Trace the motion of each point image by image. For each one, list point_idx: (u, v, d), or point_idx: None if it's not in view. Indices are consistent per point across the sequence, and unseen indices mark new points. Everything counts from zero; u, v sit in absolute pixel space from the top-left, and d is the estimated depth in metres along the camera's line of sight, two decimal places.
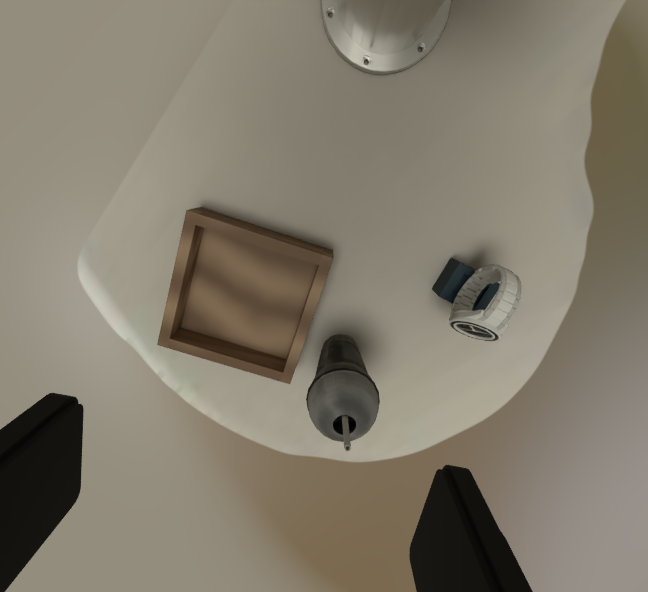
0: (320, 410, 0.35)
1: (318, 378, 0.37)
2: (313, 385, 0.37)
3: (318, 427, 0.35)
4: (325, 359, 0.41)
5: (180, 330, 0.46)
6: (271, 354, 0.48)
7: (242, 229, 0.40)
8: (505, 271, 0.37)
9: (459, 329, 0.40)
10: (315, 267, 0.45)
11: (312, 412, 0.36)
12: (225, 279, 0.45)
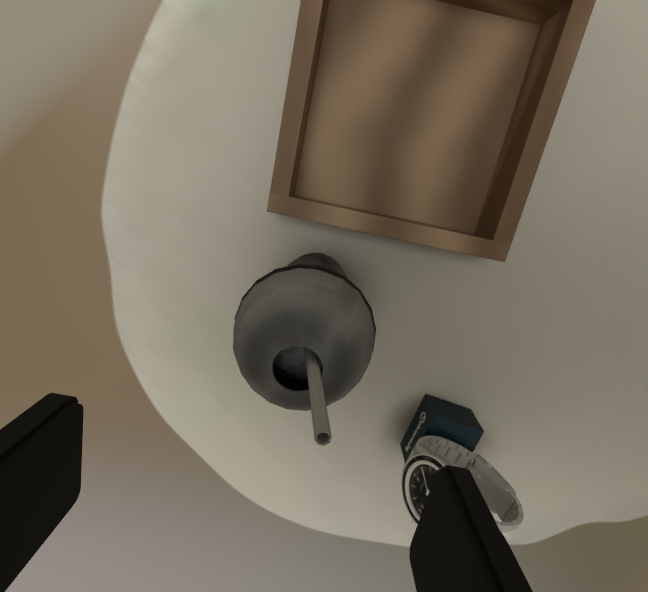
0: (313, 311, 0.16)
1: (350, 284, 0.18)
2: (336, 277, 0.18)
3: (267, 309, 0.16)
4: None
5: None
6: (298, 167, 0.27)
7: (559, 98, 0.22)
8: None
9: (416, 466, 0.27)
10: (459, 228, 0.28)
11: (296, 290, 0.16)
12: (433, 69, 0.25)
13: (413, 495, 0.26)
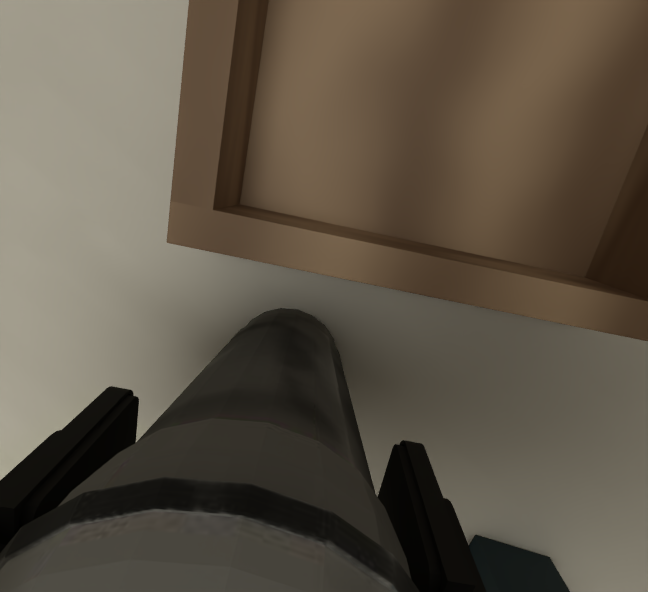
0: None
1: (359, 552, 0.05)
2: (305, 542, 0.05)
3: None
4: (334, 401, 0.10)
5: None
6: (247, 150, 0.14)
7: None
8: None
9: None
10: (558, 267, 0.15)
11: None
12: None
13: None
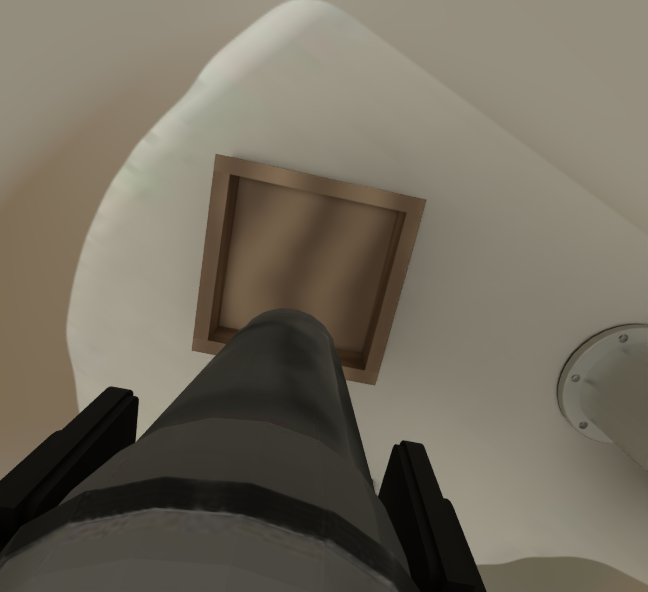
0: None
1: (359, 551, 0.05)
2: (305, 541, 0.05)
3: None
4: (334, 400, 0.10)
5: (237, 178, 0.31)
6: (221, 306, 0.35)
7: (404, 275, 0.30)
8: None
9: None
10: (349, 349, 0.36)
11: None
12: (320, 238, 0.33)
13: None
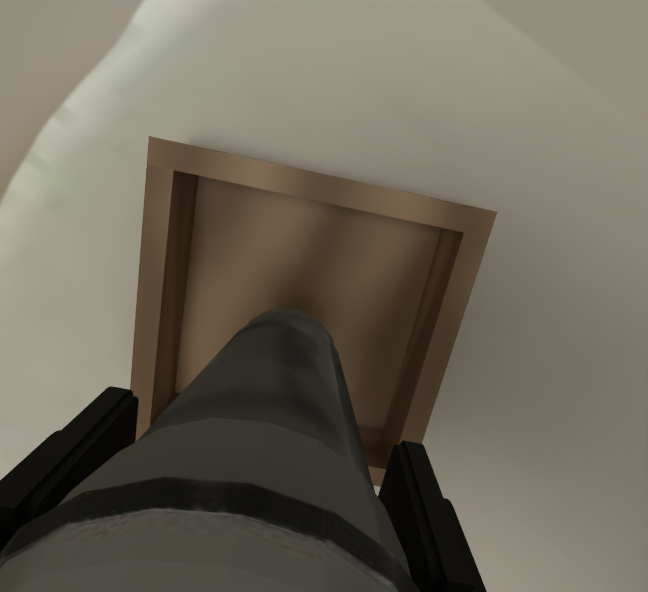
0: None
1: (359, 551, 0.05)
2: (305, 541, 0.05)
3: None
4: (334, 400, 0.10)
5: (193, 177, 0.20)
6: (177, 365, 0.24)
7: (455, 331, 0.19)
8: None
9: None
10: (365, 426, 0.25)
11: None
12: (323, 268, 0.22)
13: None
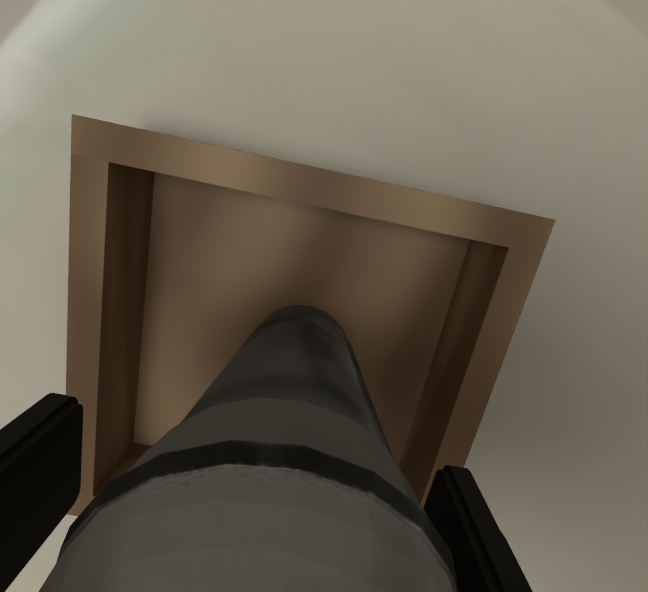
0: None
1: (394, 502, 0.06)
2: (351, 491, 0.06)
3: None
4: (355, 387, 0.11)
5: (145, 172, 0.15)
6: (136, 409, 0.19)
7: (493, 377, 0.14)
8: None
9: None
10: None
11: None
12: (318, 289, 0.17)
13: None
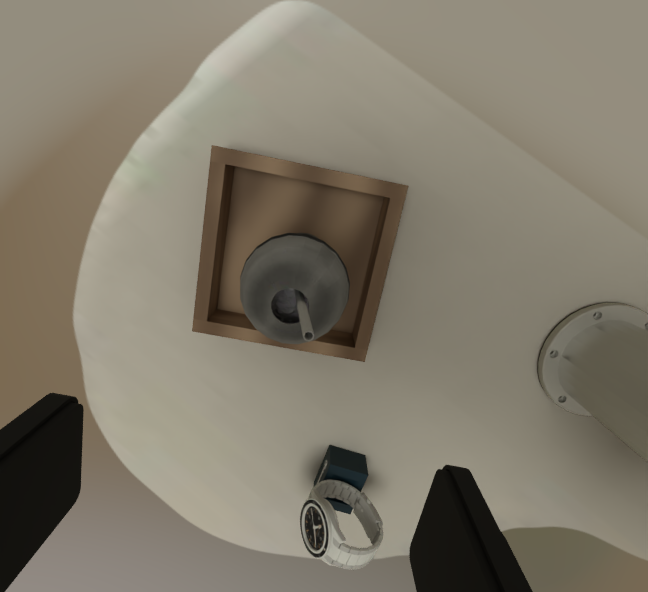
0: (301, 263, 0.22)
1: (329, 247, 0.24)
2: (318, 241, 0.24)
3: (266, 263, 0.22)
4: None
5: (232, 168, 0.33)
6: (219, 290, 0.37)
7: (389, 257, 0.33)
8: None
9: (308, 507, 0.37)
10: (341, 330, 0.38)
11: (288, 249, 0.22)
12: (311, 224, 0.35)
13: (306, 528, 0.37)
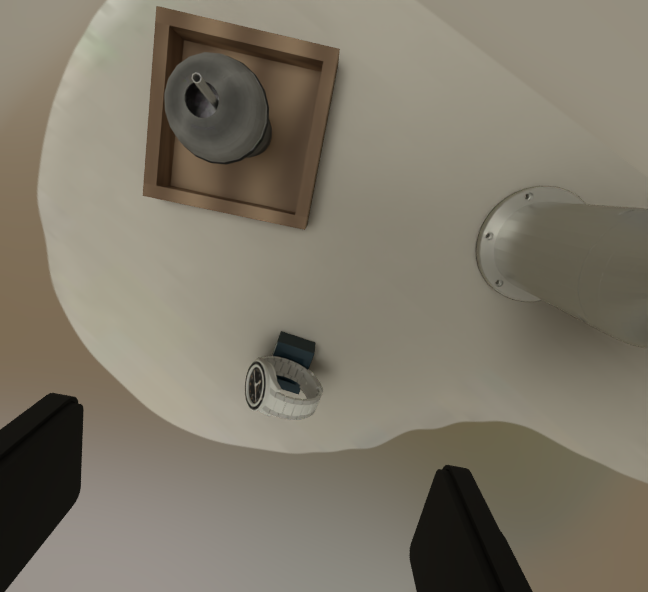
0: (213, 63, 0.24)
1: (247, 68, 0.26)
2: (236, 60, 0.26)
3: (183, 64, 0.24)
4: None
5: (180, 40, 0.36)
6: (172, 166, 0.39)
7: (324, 121, 0.35)
8: (319, 399, 0.38)
9: (251, 370, 0.39)
10: (287, 209, 0.41)
11: (203, 54, 0.24)
12: None
13: (249, 389, 0.39)
